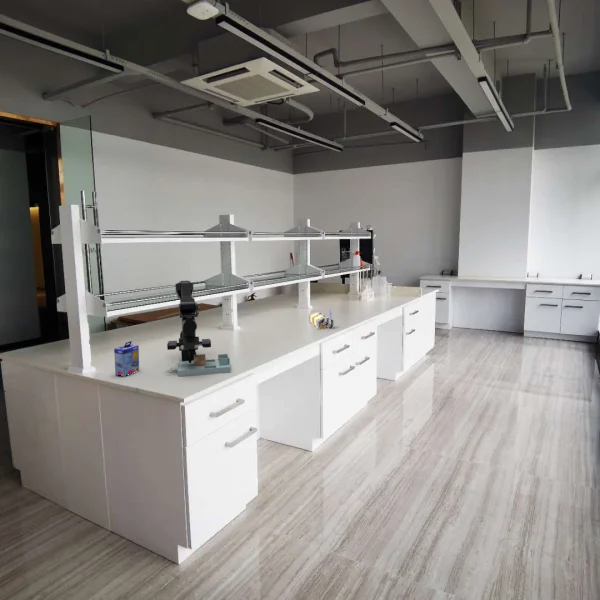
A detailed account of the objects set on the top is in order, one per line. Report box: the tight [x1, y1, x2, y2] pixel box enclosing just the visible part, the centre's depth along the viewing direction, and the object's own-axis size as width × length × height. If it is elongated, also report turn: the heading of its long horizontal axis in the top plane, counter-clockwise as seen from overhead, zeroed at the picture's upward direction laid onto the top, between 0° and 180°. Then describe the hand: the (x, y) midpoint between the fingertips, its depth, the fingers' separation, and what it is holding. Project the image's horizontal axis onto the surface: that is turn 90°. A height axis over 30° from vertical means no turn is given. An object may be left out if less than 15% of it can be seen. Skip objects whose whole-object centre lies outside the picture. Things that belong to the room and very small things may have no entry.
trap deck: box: [176, 353, 231, 377], centre depth 203 cm, size 22×15×6 cm, turn 104°
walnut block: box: [194, 353, 207, 366], centre depth 203 cm, size 5×5×4 cm
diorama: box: [308, 308, 335, 330], centre depth 300 cm, size 25×10×13 cm, turn 13°
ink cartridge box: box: [113, 340, 140, 377], centre depth 198 cm, size 10×6×14 cm, turn 159°
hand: (190, 362), depth 202 cm, fingers closed
